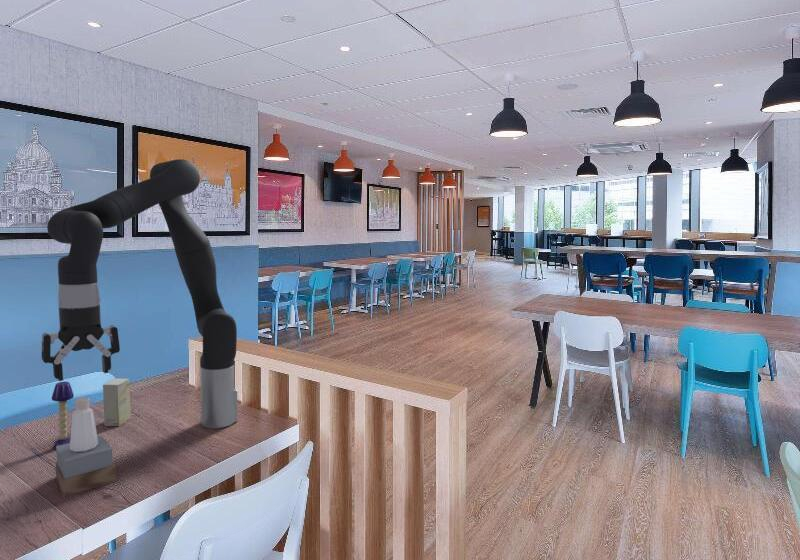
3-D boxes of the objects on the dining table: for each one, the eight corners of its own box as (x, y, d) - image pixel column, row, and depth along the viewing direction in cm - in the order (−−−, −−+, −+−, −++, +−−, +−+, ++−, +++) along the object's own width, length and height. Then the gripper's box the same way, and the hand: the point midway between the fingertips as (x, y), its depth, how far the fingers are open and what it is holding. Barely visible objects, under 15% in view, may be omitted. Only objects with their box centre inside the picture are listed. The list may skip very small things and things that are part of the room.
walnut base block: (106, 465, 118) (106, 449, 118) (116, 482, 111) (115, 465, 110) (56, 478, 112) (55, 462, 111) (63, 498, 104) (62, 480, 104)
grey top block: (102, 451, 117) (101, 435, 116) (112, 465, 110) (112, 448, 110) (56, 463, 111) (55, 446, 110) (65, 479, 104) (64, 461, 104)
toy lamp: (72, 439, 130) (69, 378, 128) (78, 445, 127) (75, 382, 125) (51, 445, 126) (47, 383, 124) (57, 451, 123) (53, 387, 121)
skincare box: (119, 426, 139) (117, 385, 137) (103, 426, 139) (101, 384, 137) (131, 418, 145) (130, 378, 143) (116, 417, 145) (115, 377, 144)
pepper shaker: (86, 453, 107) (83, 403, 106) (63, 451, 108) (61, 402, 107) (104, 442, 112) (102, 395, 111) (82, 441, 113) (80, 394, 112)
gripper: (112, 298, 114) (115, 366, 116) (36, 304, 104) (41, 378, 106) (120, 303, 109) (123, 374, 111) (41, 309, 99) (46, 387, 101)
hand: (83, 376), depth 108 cm, fingers open, 8 cm apart
